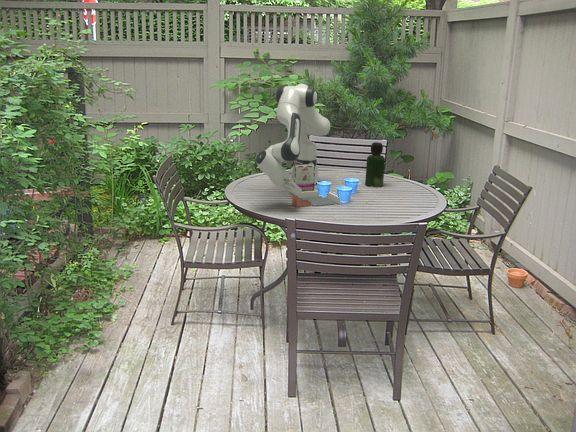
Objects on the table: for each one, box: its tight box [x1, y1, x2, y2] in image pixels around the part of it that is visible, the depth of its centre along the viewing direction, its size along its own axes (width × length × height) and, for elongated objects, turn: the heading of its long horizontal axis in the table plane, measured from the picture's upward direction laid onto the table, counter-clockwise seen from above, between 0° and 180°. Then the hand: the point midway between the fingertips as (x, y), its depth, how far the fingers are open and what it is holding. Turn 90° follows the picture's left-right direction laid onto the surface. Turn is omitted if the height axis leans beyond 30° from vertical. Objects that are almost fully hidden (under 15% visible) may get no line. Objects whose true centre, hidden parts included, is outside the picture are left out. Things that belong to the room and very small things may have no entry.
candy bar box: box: [292, 164, 315, 192], centre depth 343 cm, size 11×5×16 cm, turn 105°
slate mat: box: [300, 197, 340, 207], centre depth 332 cm, size 16×14×1 cm
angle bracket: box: [291, 194, 312, 208], centre depth 322 cm, size 5×8×9 cm, turn 116°
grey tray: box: [301, 190, 342, 205], centre depth 332 cm, size 18×16×4 cm
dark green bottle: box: [364, 141, 386, 188], centre depth 370 cm, size 10×10×25 cm
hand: (297, 195), depth 321 cm, fingers closed on angle bracket, 5 cm apart
